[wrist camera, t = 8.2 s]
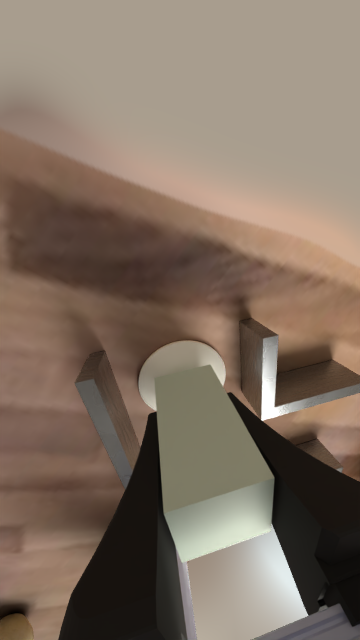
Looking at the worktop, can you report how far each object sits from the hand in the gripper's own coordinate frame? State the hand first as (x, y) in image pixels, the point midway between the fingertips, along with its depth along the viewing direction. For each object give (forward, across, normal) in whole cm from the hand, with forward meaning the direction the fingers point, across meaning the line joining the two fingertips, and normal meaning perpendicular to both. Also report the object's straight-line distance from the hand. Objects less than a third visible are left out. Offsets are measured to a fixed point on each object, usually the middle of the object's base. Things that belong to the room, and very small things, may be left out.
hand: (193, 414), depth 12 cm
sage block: (+2, 0, 0) cm, 2 cm away
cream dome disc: (+3, 0, 0) cm, 3 cm away
